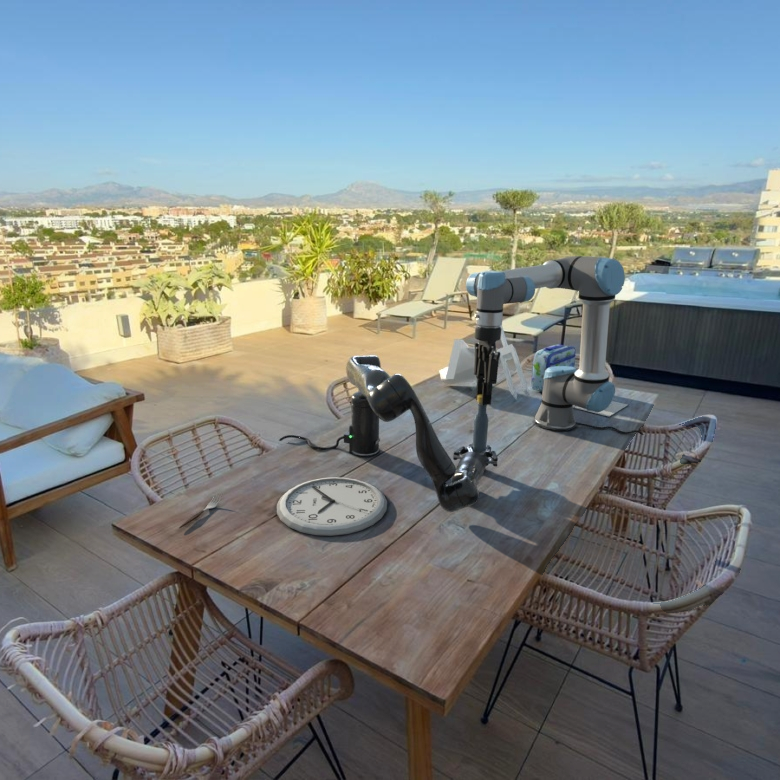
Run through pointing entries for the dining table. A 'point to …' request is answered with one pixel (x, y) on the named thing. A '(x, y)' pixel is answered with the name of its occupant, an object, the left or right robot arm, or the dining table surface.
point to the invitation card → (608, 409)
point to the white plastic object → (465, 360)
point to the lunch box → (550, 362)
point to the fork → (209, 506)
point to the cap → (479, 398)
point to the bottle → (480, 429)
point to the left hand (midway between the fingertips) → (480, 446)
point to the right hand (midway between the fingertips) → (483, 401)
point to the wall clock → (331, 506)
